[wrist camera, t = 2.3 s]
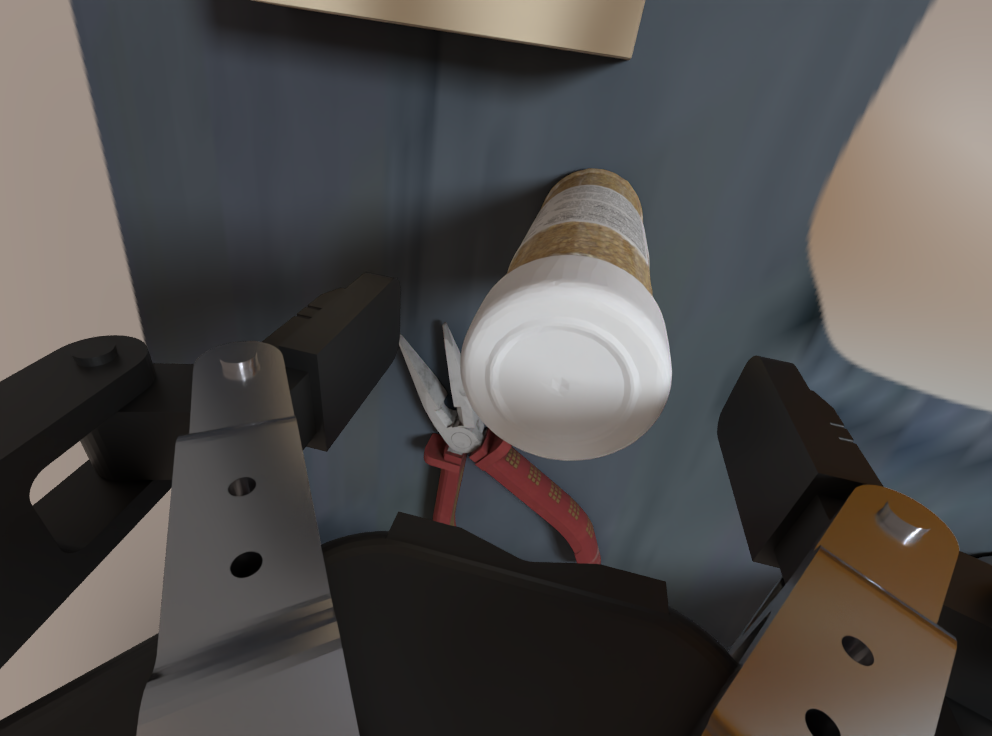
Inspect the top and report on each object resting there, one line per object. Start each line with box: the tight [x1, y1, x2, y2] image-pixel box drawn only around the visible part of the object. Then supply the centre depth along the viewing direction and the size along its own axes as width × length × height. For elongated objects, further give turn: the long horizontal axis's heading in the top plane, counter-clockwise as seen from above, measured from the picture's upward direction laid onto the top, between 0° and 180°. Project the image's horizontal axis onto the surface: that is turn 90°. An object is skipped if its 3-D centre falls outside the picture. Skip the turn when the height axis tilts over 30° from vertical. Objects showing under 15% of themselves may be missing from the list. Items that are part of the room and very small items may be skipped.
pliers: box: [399, 322, 601, 564], centre depth 30 cm, size 12×20×3 cm, turn 19°
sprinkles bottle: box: [460, 168, 672, 460], centre depth 15 cm, size 5×5×13 cm
